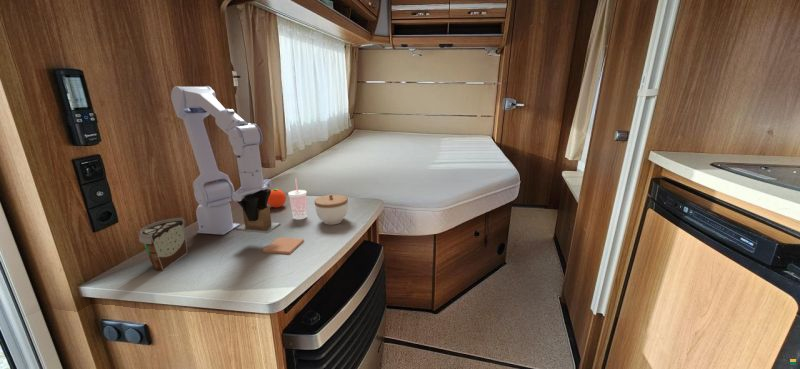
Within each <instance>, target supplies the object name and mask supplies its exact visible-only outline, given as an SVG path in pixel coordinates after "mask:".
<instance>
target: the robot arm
mask: <svg viewBox="0 0 800 369" xmlns="http://www.w3.org/2000/svg"><path fill="white" fill-rule="evenodd" d="M170 99H171V100H170V101H171V103H172V106H173V109H174V112H175V115H176V117H177V118H179V119H181V120H183V124H184V126H185V129H186V130H185V131H186V133H187V136H188V140H189V143H190V145H191V149H192V152H193V156H194V159H195V161H196V165H197V167H198V171H199V175H198V176H197V177H196V178H195V180H194V181H193V182H192V186H193V195H194V199H195V200H196V203H197V204H198V205H197V208H196V210H195V214H196V220H197V225H198V231H197V233H198V234H206V235H207V234H209V235H221V236H223V235H226V234H227V233H229V232H231V231H232V230H235V229H236V228H237V227H239V226H241V224H240V223H237V222H236V223H235V222H234V219H233V215H232V209H231V202H232V201H233V202H237V203H238V205H240V207H241V208H242V211H243V210H244V211H245V213H246V215H247V218H248V220H249V221H256V220H257V205H258V206H268V203H267V202H268V198H269V196H270V194H271V190H272V189H269V188H271V187H272V179H268V178H267V179H266V178H265V179H264V176H263V175H264V174H263V169H262V168H263V167H262V160H261V153H260V145H261V144H262V143H263V140H264V139H263V133H262V130H261V128H260V127H259V126H258V124H256V123H250V122H247V121H245V120H244V119H243V118H242V117H241V116H240V115H239V114H237V113H236V112H235V110H234V109H233V108H231V109H230V108H225V107H224V106H223V105H222V103H220V101H218V99H217V96H216V92H215V90H214V89H212V87H211V86H209V85H205V86H179V85H175V86H173V88H172V89H171V94H170ZM210 115H211V116H212V117H214V120H215V121H214V122H215V124H216V126H217V127H218V128H219V129H220V130H222V132H223V133H225V134H226V135H227V136H228V141H229V143H230V145H231V147H232V151H233V153H234V155H235V156H236V163H237V169H238V175H239V181H240V182H239V183H240V187H239V188H238V189H236V191H235V187H234V185H233V183H232V181H231V180H230V177H229V175H228V174H226V173H224V172H222V171H220V170H219V168H218V165H217V162H216V159H215V155H214V151H213V149H212V145H211V143H210V138H209V135H208V132H207V129H206V125H205V122H204V120H205V118H207V117H208V116H210Z"/></svg>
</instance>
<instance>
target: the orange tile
mask: <svg viewBox="0 0 800 369" xmlns="http://www.w3.org/2000/svg"><path fill="white" fill-rule="evenodd" d="M304 242H305V239H304V238H294V237H293V238H291V237H280V236H279V237H278V238H276V239H275V240H273V241H272V242H271V243H269V245H267V246H266V247H264V248H263V249H262V252H263V253H270V254H271V253H272V254H273V253H274V254H284V255H291V253H293V252H294V251H295V250H296V249H298V247H300V246H301V245H302V244H303V243H304Z"/></svg>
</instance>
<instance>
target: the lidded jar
mask: <svg viewBox="0 0 800 369" xmlns="http://www.w3.org/2000/svg"><path fill="white" fill-rule="evenodd" d="M348 201H349V200H348V197H347V195H342V194H333V193H332V194H331V193H330V194H327V195H326V194H325V195H322V196H319V197H316V199H315V200H314V201H313V202H314V205H315V212H316V215H317V217H318V218H319V220H320V221H321V222H323V223H324V225H337V224H340V223H342V222H343V220H344V219H345V217H346V216H347V213H348V207H349V206H348V205H349V203H348Z"/></svg>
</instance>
